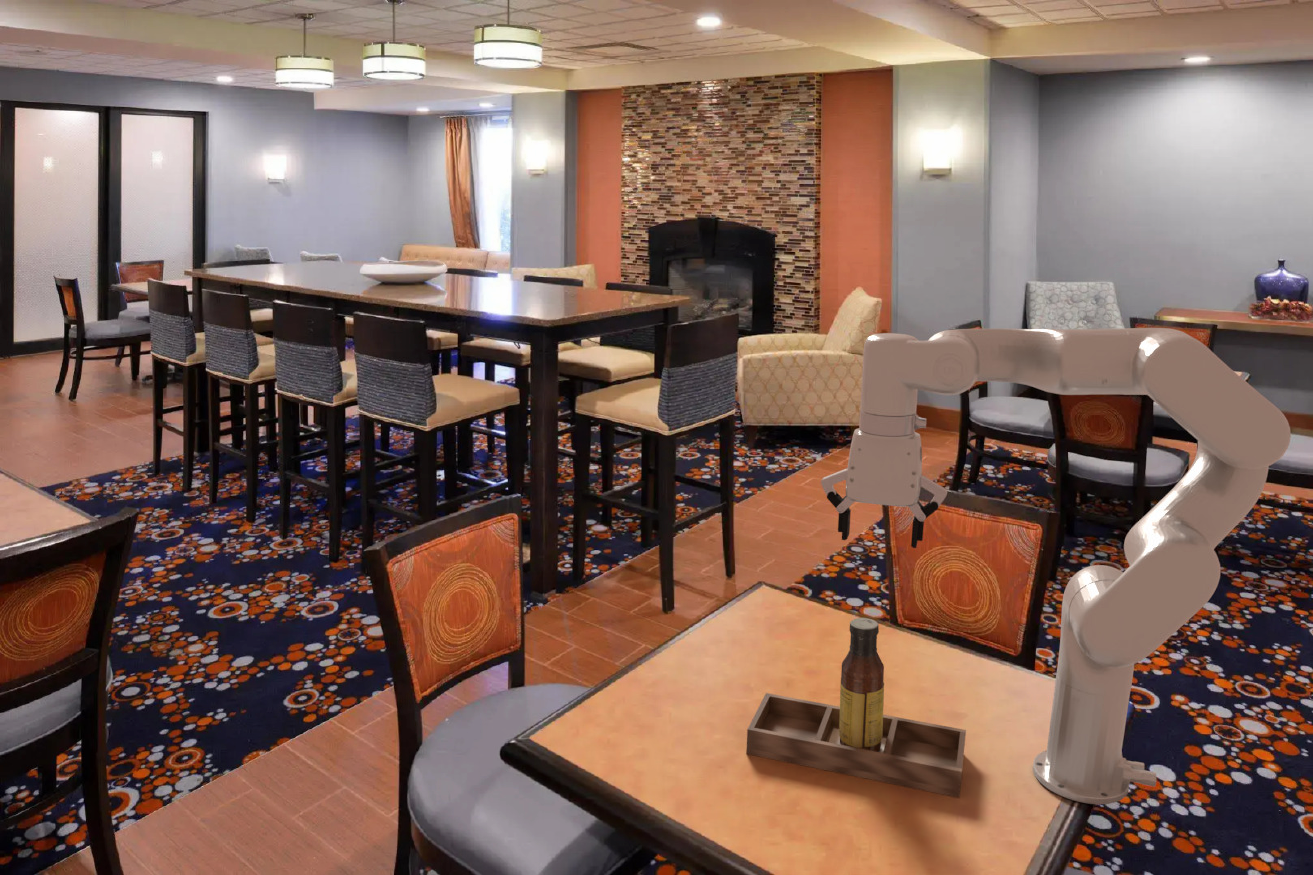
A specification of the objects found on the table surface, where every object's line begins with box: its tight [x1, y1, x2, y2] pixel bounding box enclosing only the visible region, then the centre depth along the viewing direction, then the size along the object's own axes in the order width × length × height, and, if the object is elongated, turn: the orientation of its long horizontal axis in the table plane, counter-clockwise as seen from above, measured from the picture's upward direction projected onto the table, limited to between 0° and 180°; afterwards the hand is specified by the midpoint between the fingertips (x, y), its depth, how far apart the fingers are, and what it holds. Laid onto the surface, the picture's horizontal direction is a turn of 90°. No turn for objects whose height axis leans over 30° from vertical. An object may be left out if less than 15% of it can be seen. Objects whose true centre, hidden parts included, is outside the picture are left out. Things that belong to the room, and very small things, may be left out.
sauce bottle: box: [839, 617, 885, 752], centre depth 143 cm, size 7×6×20 cm
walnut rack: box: [746, 692, 967, 798], centre depth 146 cm, size 30×12×4 cm, turn 71°
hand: (879, 540), depth 140 cm, fingers open, 9 cm apart
